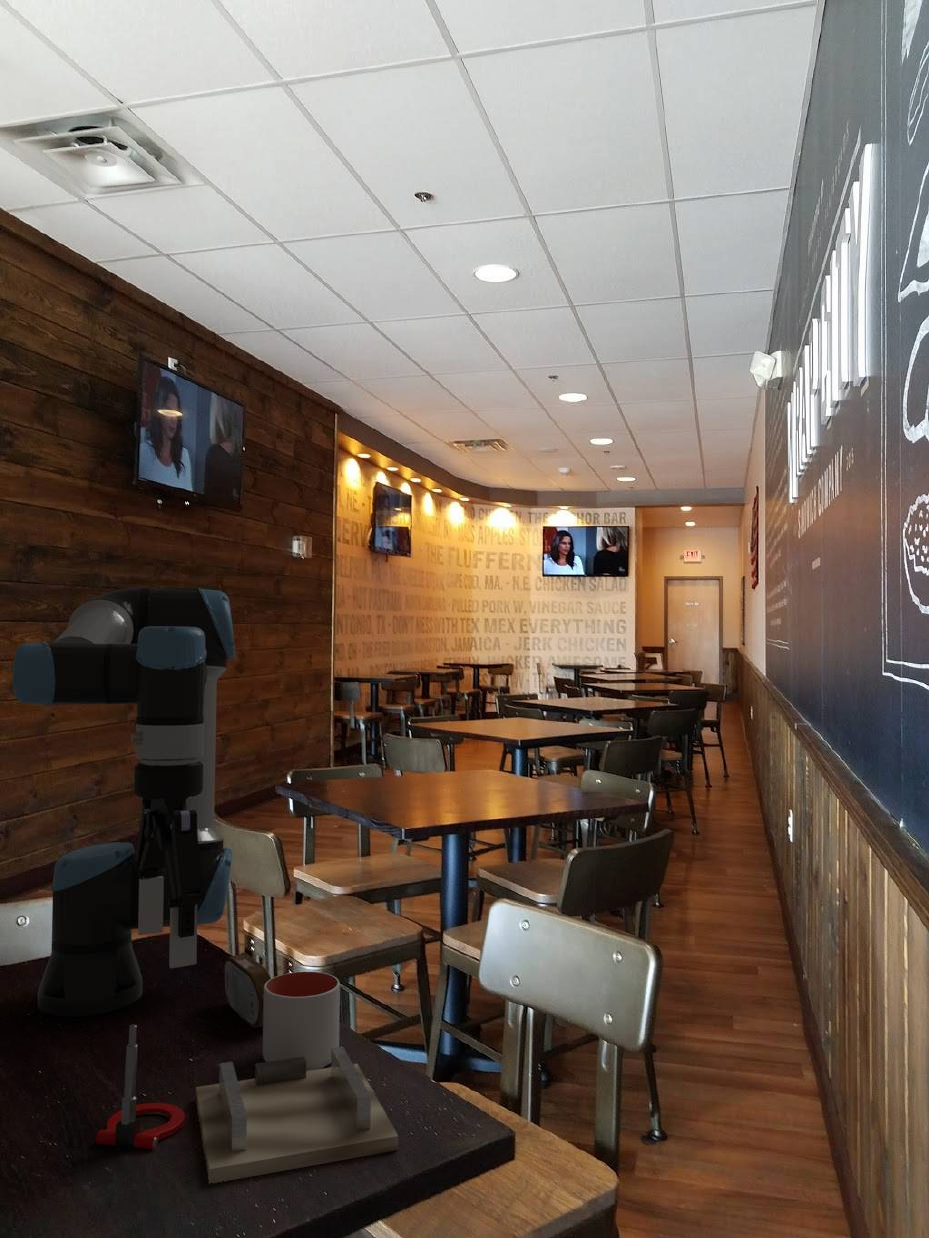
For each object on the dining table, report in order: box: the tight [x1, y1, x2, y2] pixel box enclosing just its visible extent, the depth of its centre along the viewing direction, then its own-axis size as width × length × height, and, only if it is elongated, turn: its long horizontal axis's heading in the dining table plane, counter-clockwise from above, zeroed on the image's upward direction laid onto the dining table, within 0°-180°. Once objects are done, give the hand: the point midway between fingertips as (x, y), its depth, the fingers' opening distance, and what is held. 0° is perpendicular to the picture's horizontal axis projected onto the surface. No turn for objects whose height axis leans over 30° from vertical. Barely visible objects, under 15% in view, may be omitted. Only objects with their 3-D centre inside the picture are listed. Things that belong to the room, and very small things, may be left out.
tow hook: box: [95, 1024, 186, 1150], centre depth 107 cm, size 8×13×9 cm
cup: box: [262, 971, 341, 1071], centre depth 124 cm, size 10×10×10 cm
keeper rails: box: [218, 1045, 371, 1152], centre depth 108 cm, size 16×15×4 cm
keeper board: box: [195, 1063, 399, 1185], centre depth 107 cm, size 19×20×2 cm
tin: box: [223, 952, 272, 1029], centre depth 138 cm, size 15×3×8 cm, turn 34°
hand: (165, 948), depth 106 cm, fingers open, 13 cm apart
